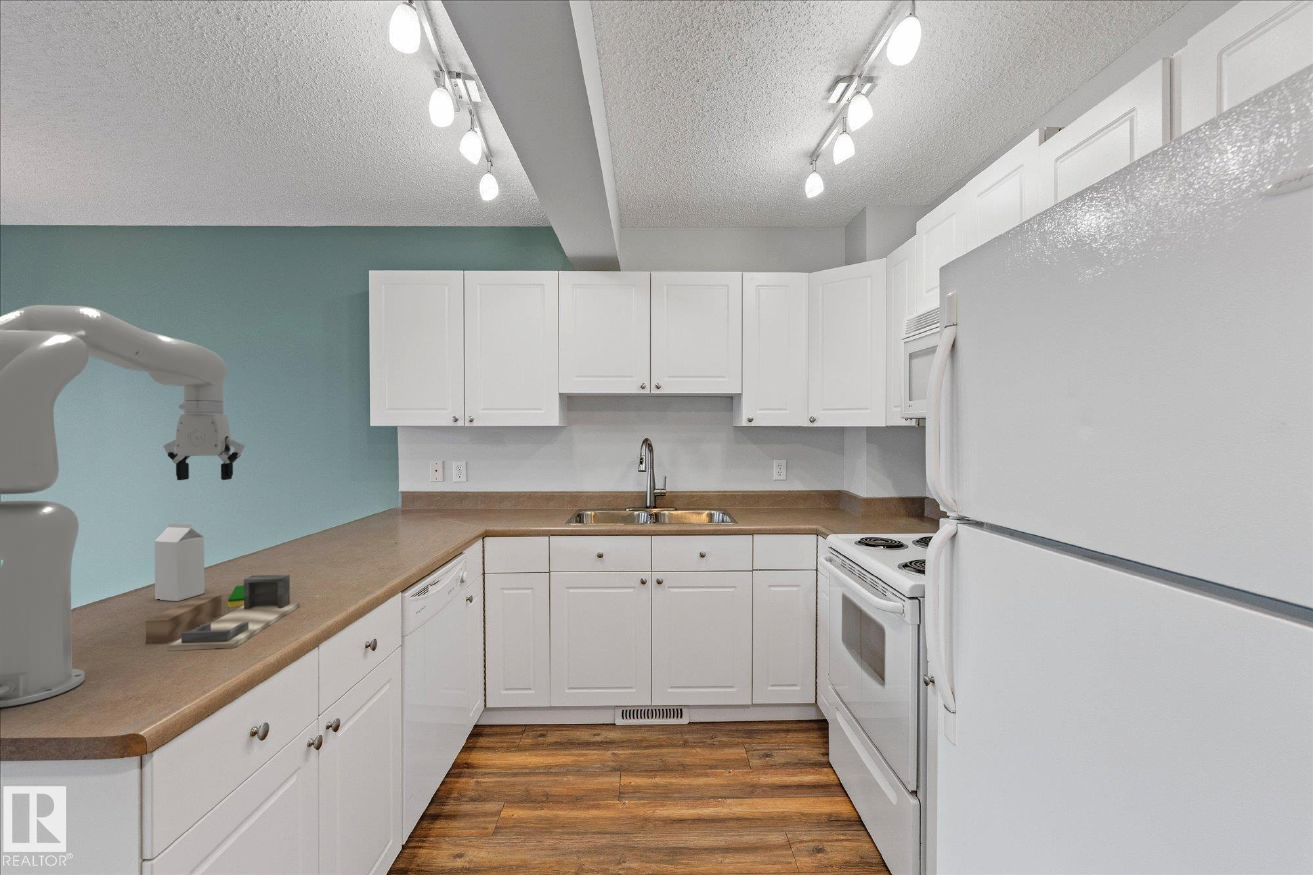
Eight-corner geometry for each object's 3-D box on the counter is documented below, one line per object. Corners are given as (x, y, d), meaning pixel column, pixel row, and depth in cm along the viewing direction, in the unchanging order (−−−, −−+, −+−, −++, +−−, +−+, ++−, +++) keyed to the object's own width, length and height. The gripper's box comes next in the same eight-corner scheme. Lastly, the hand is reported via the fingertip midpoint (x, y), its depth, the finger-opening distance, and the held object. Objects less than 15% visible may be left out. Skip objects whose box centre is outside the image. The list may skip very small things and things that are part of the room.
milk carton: (177, 601, 146) (176, 526, 145) (154, 600, 147) (153, 525, 147) (204, 593, 153) (204, 521, 152) (182, 592, 154) (182, 520, 154)
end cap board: (233, 648, 116) (233, 607, 116) (167, 650, 115) (167, 609, 114) (299, 606, 143) (299, 573, 143) (246, 607, 141) (246, 574, 141)
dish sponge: (227, 609, 142) (227, 599, 141) (236, 594, 154) (235, 585, 154) (262, 605, 145) (262, 595, 145) (268, 591, 157) (268, 582, 157)
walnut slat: (167, 644, 119) (167, 619, 119) (146, 645, 118) (145, 620, 118) (221, 615, 136) (221, 594, 136) (203, 616, 136) (202, 594, 136)
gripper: (153, 408, 136) (154, 481, 136) (233, 408, 138) (234, 481, 138) (175, 408, 143) (176, 478, 144) (251, 409, 145) (252, 478, 146)
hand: (204, 479), depth 141 cm, fingers open, 9 cm apart
